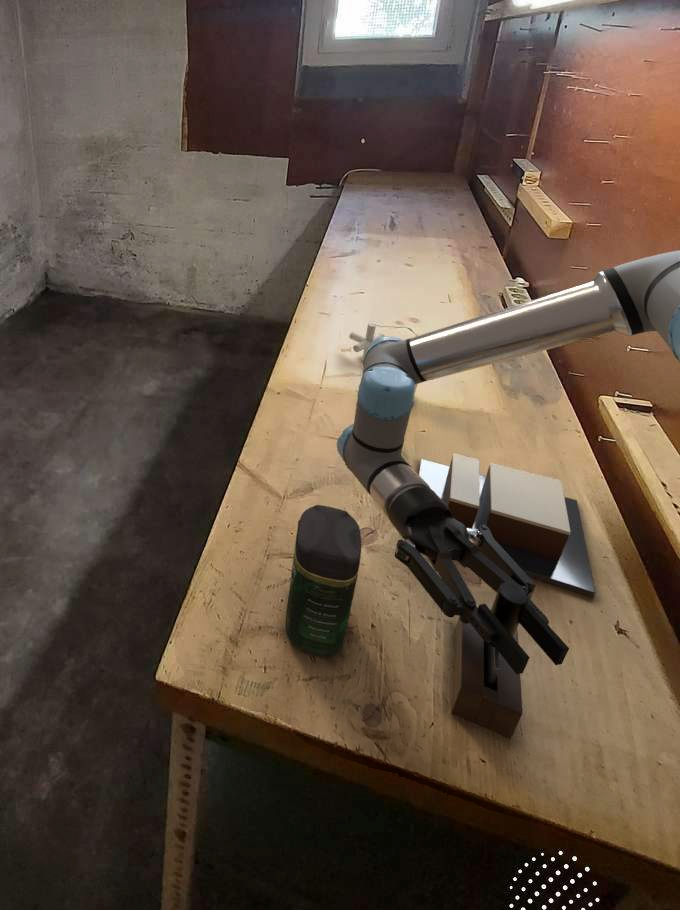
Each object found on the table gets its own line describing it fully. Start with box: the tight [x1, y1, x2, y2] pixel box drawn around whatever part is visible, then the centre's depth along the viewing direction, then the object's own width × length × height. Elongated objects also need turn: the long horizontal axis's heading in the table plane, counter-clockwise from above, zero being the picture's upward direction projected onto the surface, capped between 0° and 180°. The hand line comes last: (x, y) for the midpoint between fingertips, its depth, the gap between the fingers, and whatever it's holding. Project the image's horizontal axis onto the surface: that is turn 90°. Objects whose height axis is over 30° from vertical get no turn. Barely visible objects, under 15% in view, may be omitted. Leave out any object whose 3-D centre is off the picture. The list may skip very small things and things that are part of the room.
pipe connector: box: [348, 322, 386, 362], centre depth 137 cm, size 10×10×10 cm
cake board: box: [418, 458, 597, 598], centre depth 92 cm, size 24×20×1 cm
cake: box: [482, 462, 571, 561], centre depth 90 cm, size 10×12×6 cm
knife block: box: [451, 616, 524, 739], centre depth 69 cm, size 12×6×5 cm, turn 151°
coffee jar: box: [285, 504, 362, 658], centre depth 73 cm, size 10×8×19 cm
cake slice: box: [445, 452, 481, 528], centre depth 93 cm, size 4×12×6 cm, turn 152°
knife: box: [484, 583, 528, 689], centre depth 67 cm, size 8×3×16 cm, turn 151°
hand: (542, 661), depth 60 cm, fingers open, 4 cm apart
